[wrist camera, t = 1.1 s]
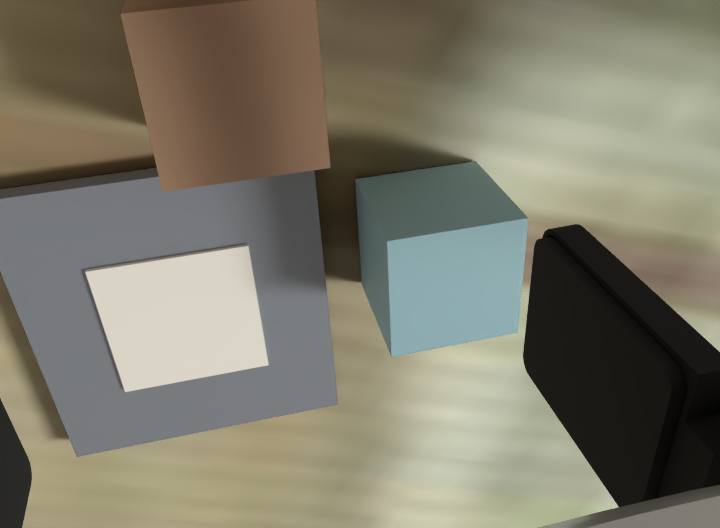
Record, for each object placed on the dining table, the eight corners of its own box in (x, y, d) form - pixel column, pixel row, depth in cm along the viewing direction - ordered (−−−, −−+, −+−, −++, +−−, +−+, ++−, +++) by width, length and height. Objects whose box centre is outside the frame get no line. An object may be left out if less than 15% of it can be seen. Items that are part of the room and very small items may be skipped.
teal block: (475, 161, 33) (528, 218, 28) (471, 265, 36) (517, 332, 31) (354, 179, 32) (387, 241, 27) (361, 284, 35) (391, 357, 30)
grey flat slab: (309, 146, 30) (313, 156, 29) (334, 392, 38) (338, 406, 37) (-23, 192, 28) (-30, 205, 27) (79, 442, 36) (76, 459, 35)
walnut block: (290, -35, 26) (315, -7, 21) (305, 113, 29) (330, 167, 24) (132, -20, 25) (120, 13, 20) (166, 131, 28) (162, 192, 24)
